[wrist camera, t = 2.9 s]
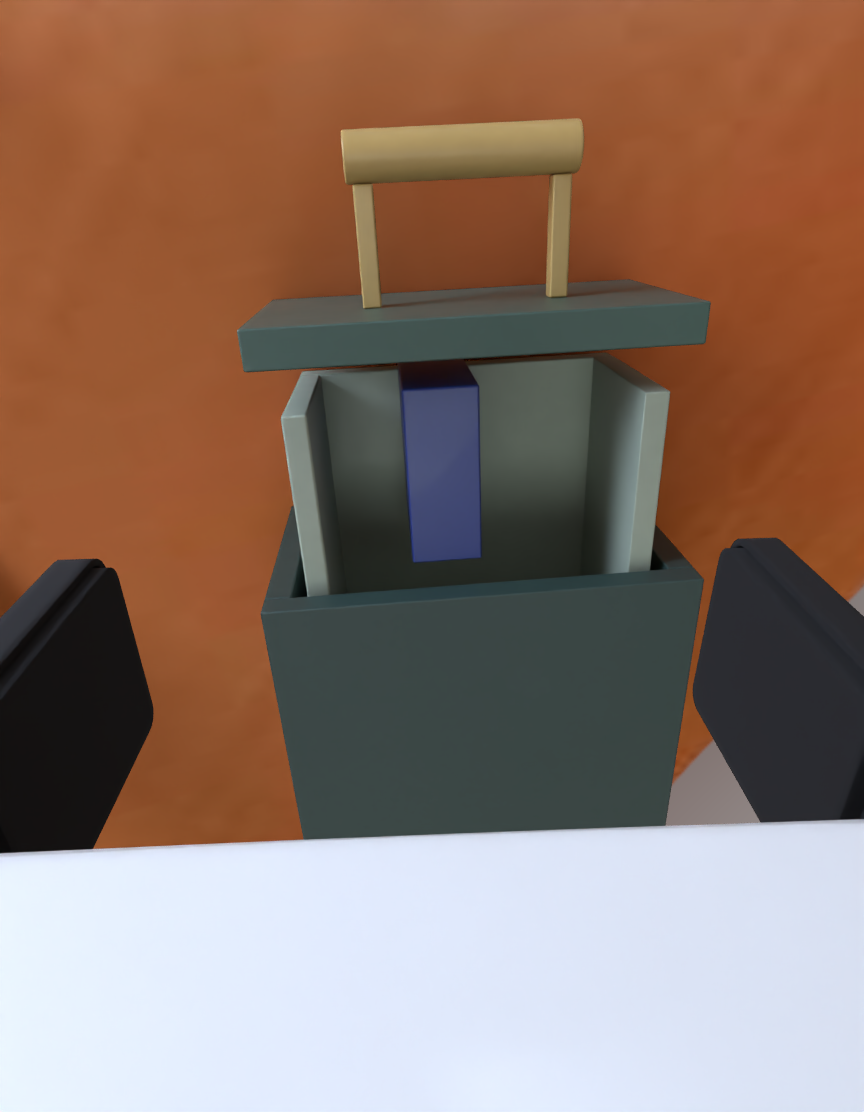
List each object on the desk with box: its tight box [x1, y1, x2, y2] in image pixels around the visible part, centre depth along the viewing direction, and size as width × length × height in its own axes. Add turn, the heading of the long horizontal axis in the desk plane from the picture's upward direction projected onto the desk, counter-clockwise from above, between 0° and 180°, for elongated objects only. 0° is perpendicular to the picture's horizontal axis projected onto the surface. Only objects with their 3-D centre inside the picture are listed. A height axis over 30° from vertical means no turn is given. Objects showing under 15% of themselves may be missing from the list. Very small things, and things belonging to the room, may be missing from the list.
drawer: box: [237, 119, 711, 597], centre depth 25 cm, size 20×14×7 cm, turn 3°
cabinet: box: [261, 506, 704, 840], centre depth 30 cm, size 17×15×9 cm
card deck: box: [397, 359, 482, 563], centre depth 24 cm, size 6×2×5 cm, turn 3°
